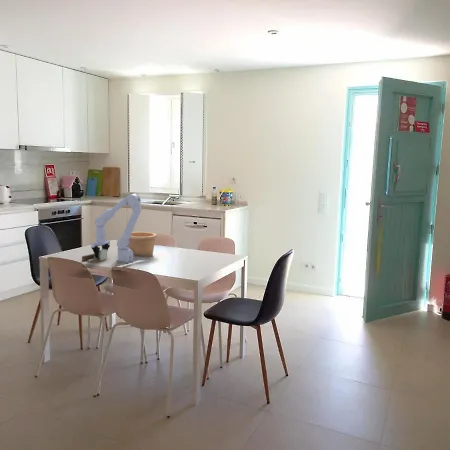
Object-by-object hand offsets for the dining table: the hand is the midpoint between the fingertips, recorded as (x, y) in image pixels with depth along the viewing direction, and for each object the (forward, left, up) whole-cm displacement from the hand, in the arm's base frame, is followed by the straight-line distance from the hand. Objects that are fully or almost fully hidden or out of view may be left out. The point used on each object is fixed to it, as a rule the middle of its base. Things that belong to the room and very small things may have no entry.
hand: (100, 256), depth 288 cm
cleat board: (0, +4, -3) cm, 5 cm away
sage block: (0, 0, -1) cm, 1 cm away
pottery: (-8, -30, -3) cm, 31 cm away
